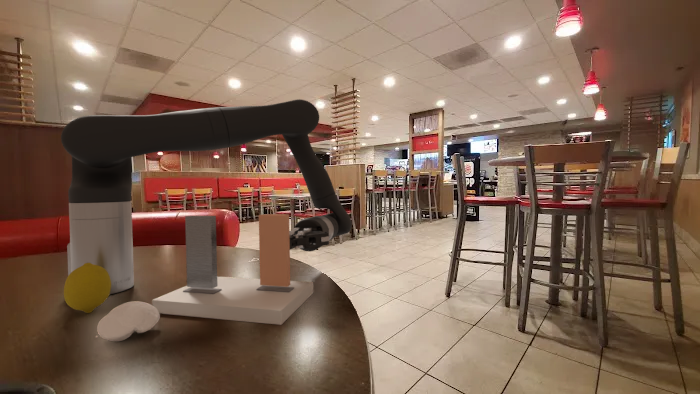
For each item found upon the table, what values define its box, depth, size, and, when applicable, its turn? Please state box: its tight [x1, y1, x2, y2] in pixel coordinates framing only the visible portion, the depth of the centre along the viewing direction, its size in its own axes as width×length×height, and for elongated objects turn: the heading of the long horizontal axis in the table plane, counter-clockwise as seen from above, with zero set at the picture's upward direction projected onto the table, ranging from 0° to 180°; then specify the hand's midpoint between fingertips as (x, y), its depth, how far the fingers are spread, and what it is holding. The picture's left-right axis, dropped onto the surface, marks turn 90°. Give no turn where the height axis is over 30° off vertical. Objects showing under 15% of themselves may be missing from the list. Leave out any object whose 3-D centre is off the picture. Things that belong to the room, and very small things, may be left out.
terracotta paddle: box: [258, 213, 291, 287], centre depth 49 cm, size 5×1×12 cm, turn 77°
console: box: [151, 275, 314, 326], centre depth 49 cm, size 22×13×2 cm, turn 77°
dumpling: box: [95, 300, 161, 342], centre depth 38 cm, size 7×5×4 cm
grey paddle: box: [184, 215, 218, 288], centre depth 49 cm, size 5×1×12 cm, turn 77°
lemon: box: [63, 263, 111, 314], centre depth 45 cm, size 6×6×8 cm
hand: (282, 245), depth 52 cm, fingers closed
